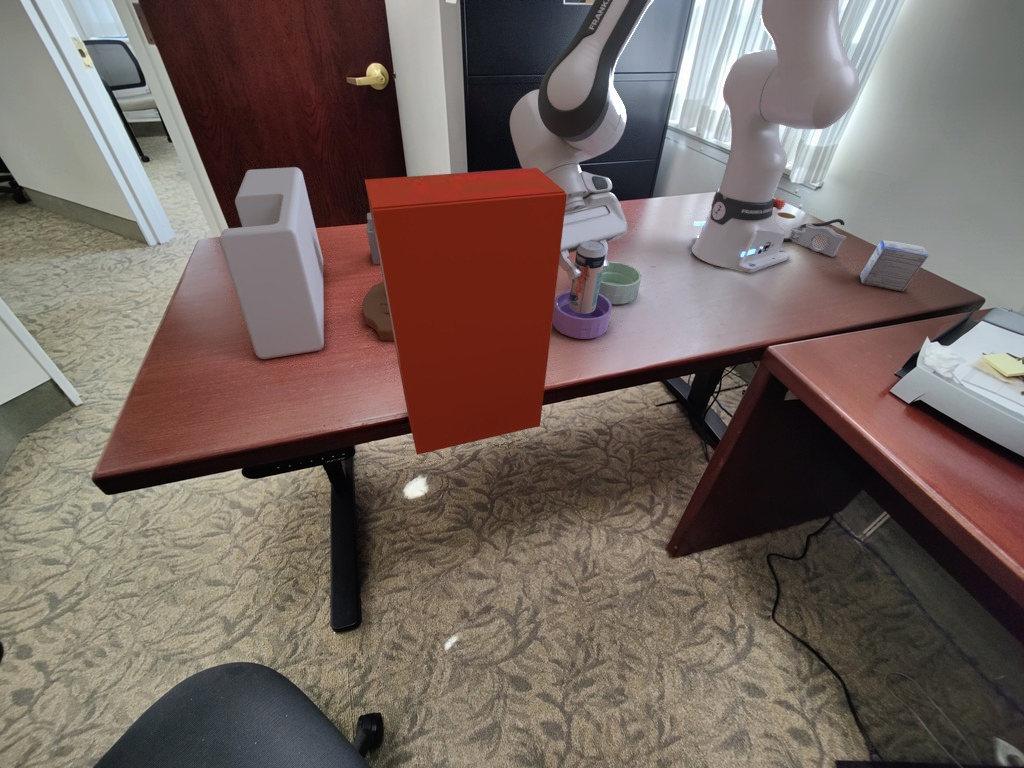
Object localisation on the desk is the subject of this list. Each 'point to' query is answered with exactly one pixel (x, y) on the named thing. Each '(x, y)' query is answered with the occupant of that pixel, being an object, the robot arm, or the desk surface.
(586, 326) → the lavender bowl
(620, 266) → the celadon bowl
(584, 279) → the white cylindrical canister
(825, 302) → the desk surface
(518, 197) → the red tall rectangular block
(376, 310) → the plant
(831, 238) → the grey grilled flat device
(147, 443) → the desk surface
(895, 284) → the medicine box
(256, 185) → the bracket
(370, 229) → the power adapter
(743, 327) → the desk surface
